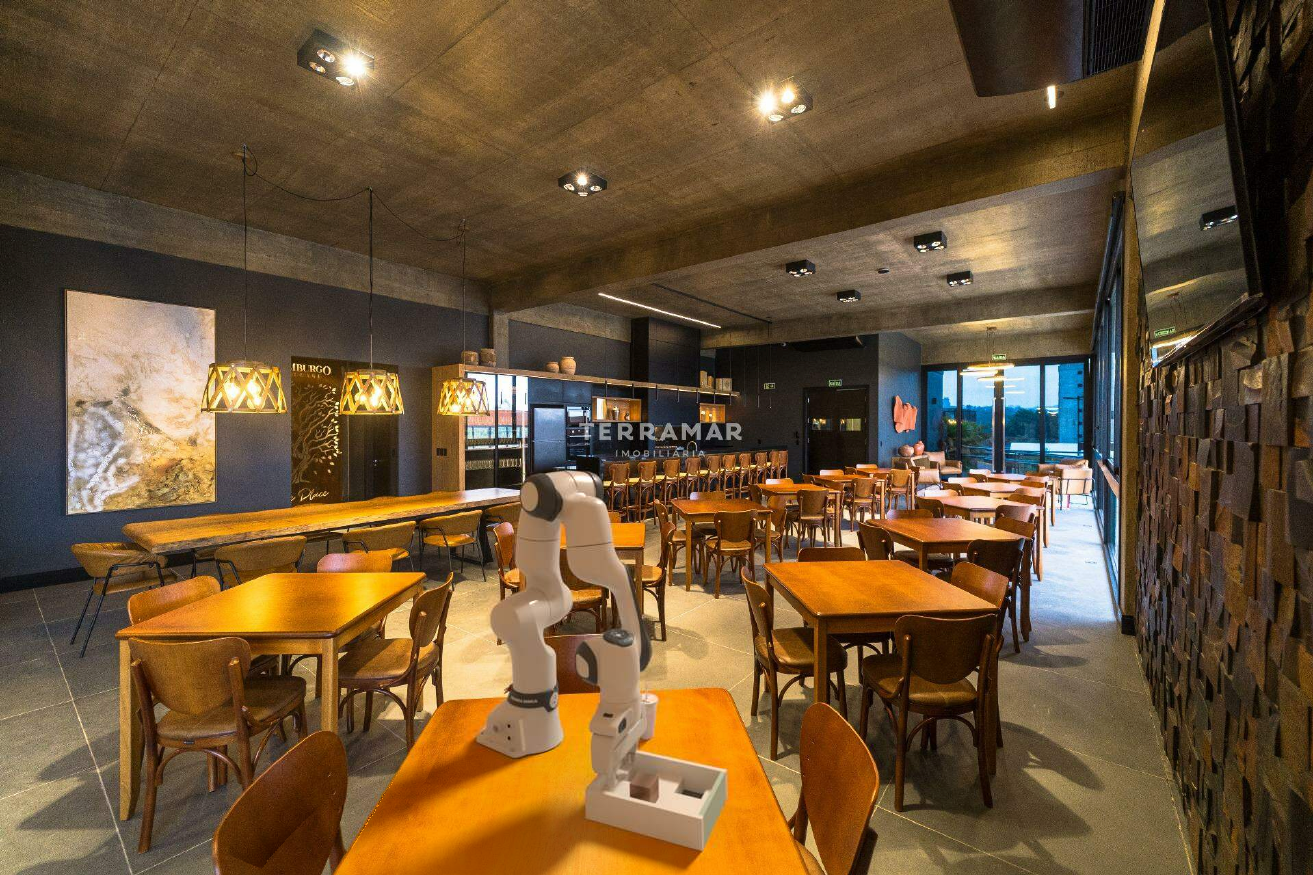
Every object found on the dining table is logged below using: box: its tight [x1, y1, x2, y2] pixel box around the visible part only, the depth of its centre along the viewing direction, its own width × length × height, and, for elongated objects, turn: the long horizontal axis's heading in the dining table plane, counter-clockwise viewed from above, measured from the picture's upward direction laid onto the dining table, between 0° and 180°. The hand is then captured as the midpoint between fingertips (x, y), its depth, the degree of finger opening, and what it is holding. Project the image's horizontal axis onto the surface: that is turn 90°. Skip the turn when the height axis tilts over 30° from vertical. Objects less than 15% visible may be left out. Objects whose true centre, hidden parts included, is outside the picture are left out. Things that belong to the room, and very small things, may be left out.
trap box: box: [584, 749, 728, 852], centre depth 119 cm, size 25×17×6 cm
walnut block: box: [630, 772, 659, 803], centre depth 117 cm, size 4×4×4 cm
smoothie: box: [639, 681, 659, 740], centre depth 148 cm, size 6×6×14 cm
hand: (622, 772), depth 123 cm, fingers open, 8 cm apart
